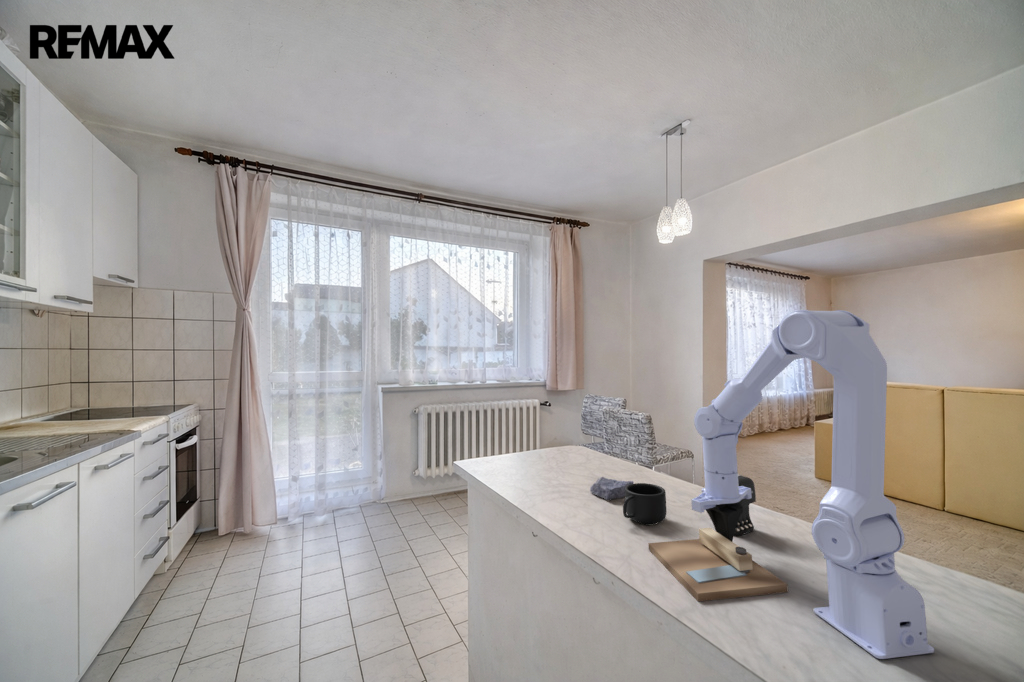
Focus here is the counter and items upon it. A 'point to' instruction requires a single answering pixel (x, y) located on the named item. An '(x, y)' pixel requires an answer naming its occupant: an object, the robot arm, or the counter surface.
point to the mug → (645, 503)
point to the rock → (609, 488)
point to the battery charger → (745, 507)
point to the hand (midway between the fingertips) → (725, 543)
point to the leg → (726, 549)
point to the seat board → (713, 572)
